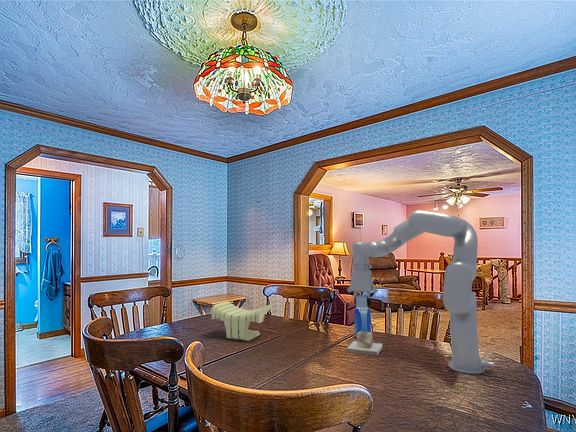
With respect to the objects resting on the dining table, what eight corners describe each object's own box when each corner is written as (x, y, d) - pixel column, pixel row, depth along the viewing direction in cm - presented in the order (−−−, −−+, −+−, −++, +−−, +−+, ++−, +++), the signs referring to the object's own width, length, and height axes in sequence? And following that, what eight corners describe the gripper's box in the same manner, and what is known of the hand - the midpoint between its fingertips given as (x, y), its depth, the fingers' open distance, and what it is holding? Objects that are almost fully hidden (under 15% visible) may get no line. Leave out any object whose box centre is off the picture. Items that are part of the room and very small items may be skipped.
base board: (382, 346, 159) (382, 343, 159) (377, 355, 146) (376, 352, 147) (354, 343, 165) (354, 340, 165) (346, 352, 153) (346, 348, 153)
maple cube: (372, 345, 157) (372, 332, 158) (370, 348, 152) (369, 335, 152) (360, 343, 160) (359, 331, 160) (357, 347, 154) (356, 334, 155)
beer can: (373, 340, 170) (371, 308, 171) (356, 340, 170) (355, 309, 171) (369, 336, 178) (368, 305, 180) (354, 336, 178) (352, 306, 180)
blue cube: (369, 306, 159) (368, 295, 159) (366, 308, 154) (366, 297, 155) (358, 305, 161) (358, 295, 161) (356, 307, 157) (355, 296, 157)
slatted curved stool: (211, 338, 181) (211, 305, 183) (228, 331, 196) (228, 300, 197) (259, 343, 169) (258, 308, 171) (273, 335, 184) (272, 303, 185)
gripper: (380, 267, 159) (382, 305, 157) (346, 267, 166) (347, 303, 165) (377, 268, 152) (379, 308, 151) (341, 268, 160) (343, 306, 158)
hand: (362, 305), depth 158 cm, fingers closed on blue cube, 5 cm apart
